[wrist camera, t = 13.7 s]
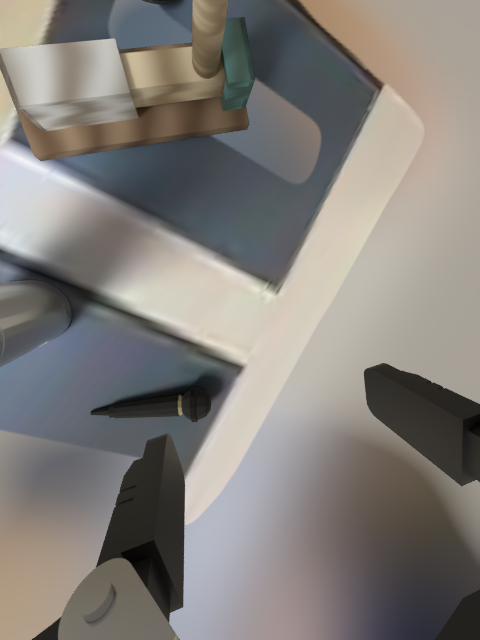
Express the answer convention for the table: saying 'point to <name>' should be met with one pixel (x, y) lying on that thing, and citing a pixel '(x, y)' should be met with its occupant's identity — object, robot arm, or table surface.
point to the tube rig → (115, 97)
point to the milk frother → (158, 1)
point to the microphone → (163, 406)
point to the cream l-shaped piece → (182, 63)
